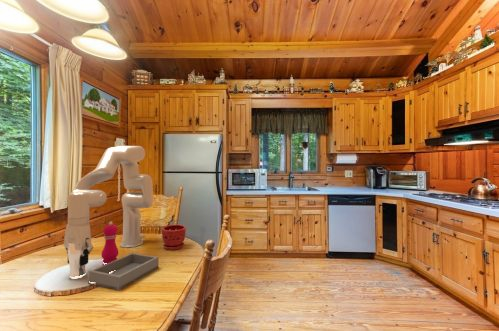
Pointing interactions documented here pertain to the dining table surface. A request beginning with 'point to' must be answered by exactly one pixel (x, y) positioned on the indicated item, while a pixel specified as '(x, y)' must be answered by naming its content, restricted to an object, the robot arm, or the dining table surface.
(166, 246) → the plant pot
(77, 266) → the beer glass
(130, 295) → the dining table surface
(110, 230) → the pepper mill
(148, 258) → the tote
